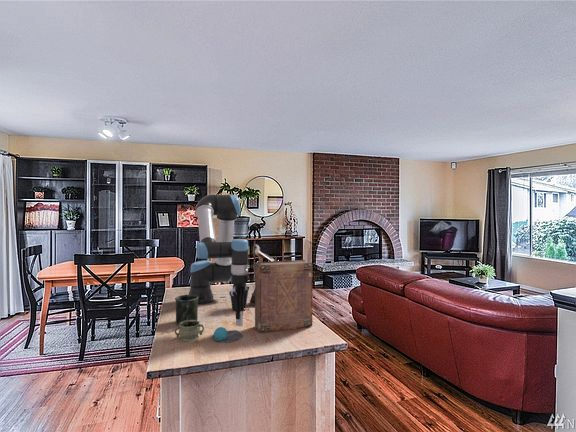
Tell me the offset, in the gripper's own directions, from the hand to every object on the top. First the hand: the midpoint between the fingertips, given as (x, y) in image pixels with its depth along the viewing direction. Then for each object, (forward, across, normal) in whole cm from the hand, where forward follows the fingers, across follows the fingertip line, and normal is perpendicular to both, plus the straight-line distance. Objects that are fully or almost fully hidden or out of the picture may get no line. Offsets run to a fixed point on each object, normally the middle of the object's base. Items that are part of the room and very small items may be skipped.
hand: (239, 325), depth 154 cm
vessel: (+2, -18, +13) cm, 22 cm away
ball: (-1, -14, 0) cm, 14 cm away
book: (+2, +13, -16) cm, 21 cm away
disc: (+2, -9, 0) cm, 9 cm away
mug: (+2, -4, +27) cm, 28 cm away
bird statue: (+2, +43, +12) cm, 45 cm away
